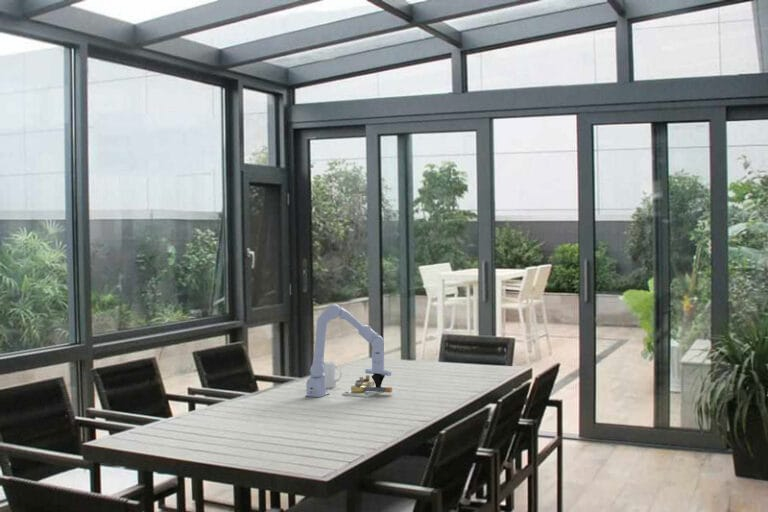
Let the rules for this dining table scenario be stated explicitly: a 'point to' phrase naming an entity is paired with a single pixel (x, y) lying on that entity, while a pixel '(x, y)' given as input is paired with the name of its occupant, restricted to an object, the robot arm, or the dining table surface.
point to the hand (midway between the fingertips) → (378, 389)
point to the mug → (331, 374)
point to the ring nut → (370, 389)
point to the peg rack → (365, 381)
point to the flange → (362, 394)
